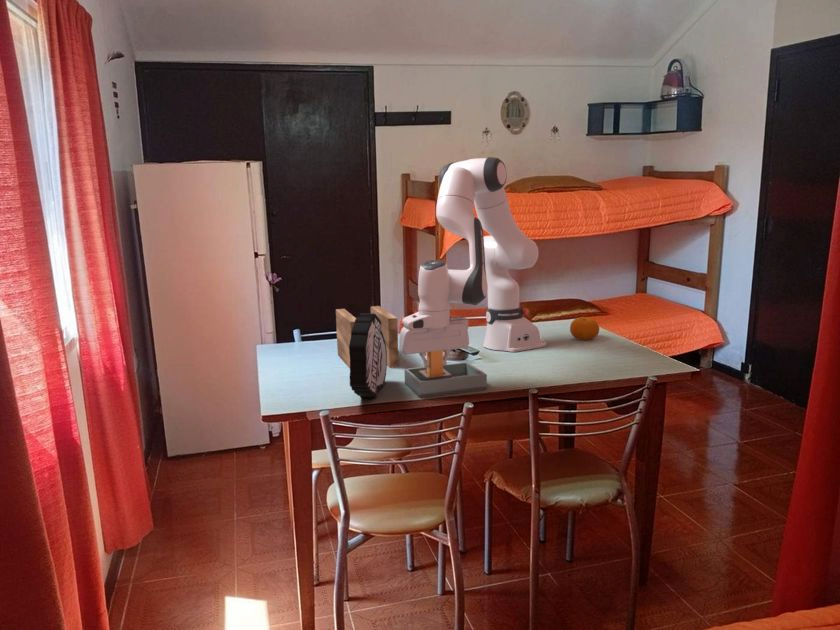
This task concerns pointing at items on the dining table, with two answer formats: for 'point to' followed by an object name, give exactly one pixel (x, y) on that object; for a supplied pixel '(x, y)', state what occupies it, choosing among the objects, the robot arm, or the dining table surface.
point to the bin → (447, 380)
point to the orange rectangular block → (435, 363)
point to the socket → (425, 377)
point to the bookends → (387, 327)
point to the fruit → (584, 328)
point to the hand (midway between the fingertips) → (434, 365)
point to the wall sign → (367, 356)
